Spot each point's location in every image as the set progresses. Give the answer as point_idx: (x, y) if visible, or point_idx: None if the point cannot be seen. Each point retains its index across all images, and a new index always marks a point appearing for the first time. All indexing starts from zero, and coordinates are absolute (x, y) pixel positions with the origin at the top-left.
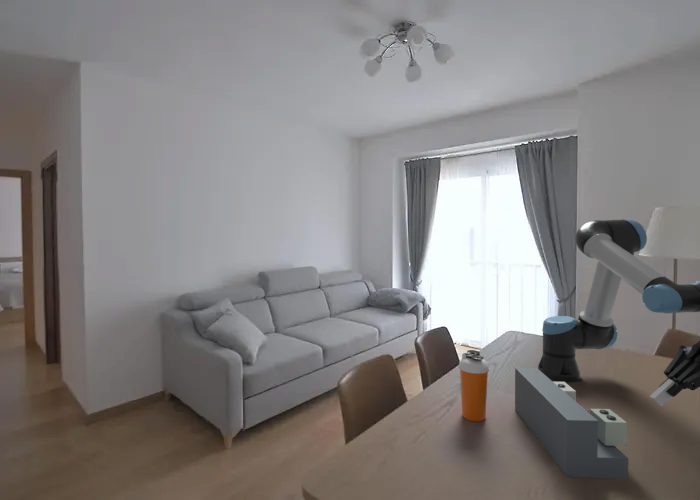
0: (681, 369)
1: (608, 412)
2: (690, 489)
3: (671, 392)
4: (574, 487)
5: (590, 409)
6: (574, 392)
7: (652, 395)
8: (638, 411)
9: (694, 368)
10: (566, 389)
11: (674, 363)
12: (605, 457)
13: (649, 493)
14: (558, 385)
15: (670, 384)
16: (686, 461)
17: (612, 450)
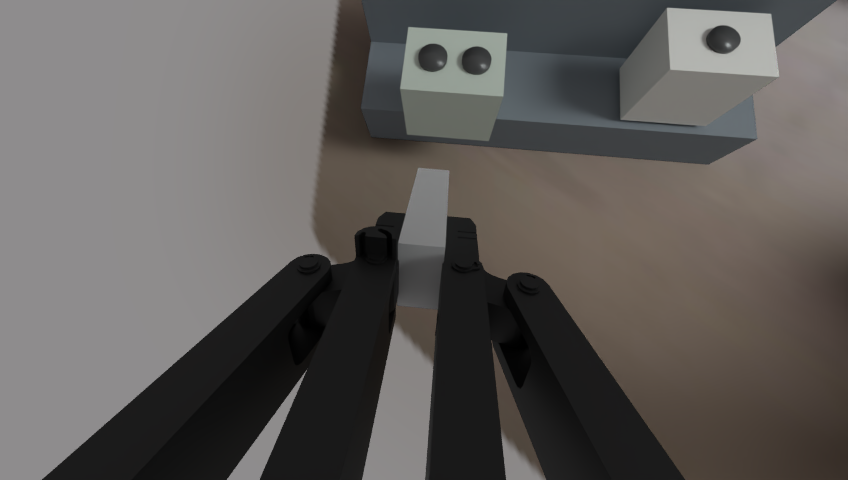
0: (438, 360)
1: (468, 69)
2: (324, 242)
3: (379, 220)
4: (355, 21)
5: (502, 33)
6: (666, 68)
7: (438, 173)
8: (731, 440)
9: (292, 414)
10: (686, 44)
11: (568, 392)
12: (369, 59)
13: (323, 146)
14: (721, 25)
15: (402, 227)
16: (425, 332)
17: (397, 93)
